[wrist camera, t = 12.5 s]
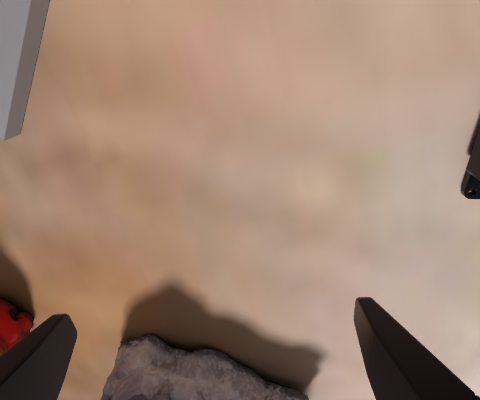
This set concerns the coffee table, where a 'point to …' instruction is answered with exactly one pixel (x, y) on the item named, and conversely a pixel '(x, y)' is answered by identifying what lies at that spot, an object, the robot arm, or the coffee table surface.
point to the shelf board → (18, 58)
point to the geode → (184, 375)
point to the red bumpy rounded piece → (12, 325)
